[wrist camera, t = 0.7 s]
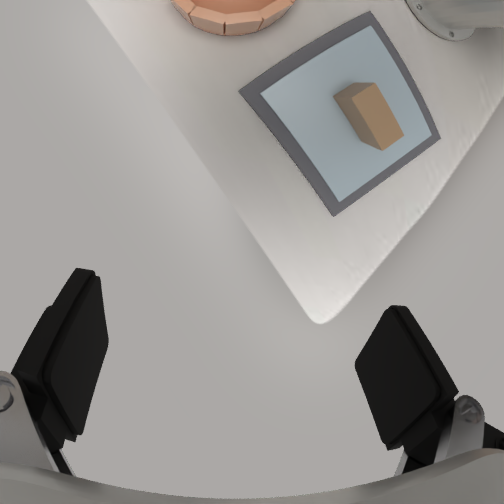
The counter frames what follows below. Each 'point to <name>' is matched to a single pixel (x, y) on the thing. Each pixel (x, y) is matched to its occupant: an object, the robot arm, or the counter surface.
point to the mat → (288, 141)
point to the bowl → (232, 14)
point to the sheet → (329, 120)
